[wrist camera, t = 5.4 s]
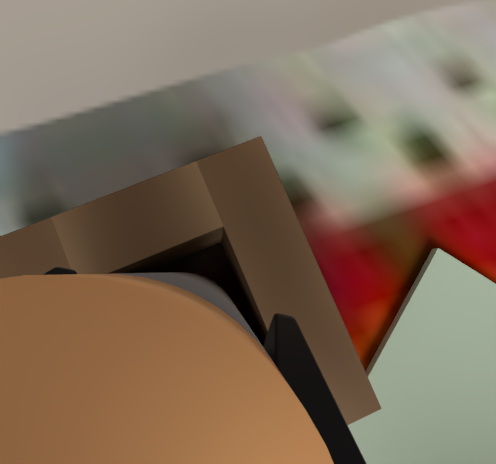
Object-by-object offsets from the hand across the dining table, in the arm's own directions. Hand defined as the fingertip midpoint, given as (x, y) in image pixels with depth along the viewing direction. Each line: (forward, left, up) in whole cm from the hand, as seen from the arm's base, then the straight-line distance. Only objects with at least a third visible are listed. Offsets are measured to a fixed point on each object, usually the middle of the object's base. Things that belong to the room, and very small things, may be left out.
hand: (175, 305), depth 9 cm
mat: (+3, -11, -8) cm, 14 cm away
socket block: (-1, 0, -8) cm, 8 cm away
